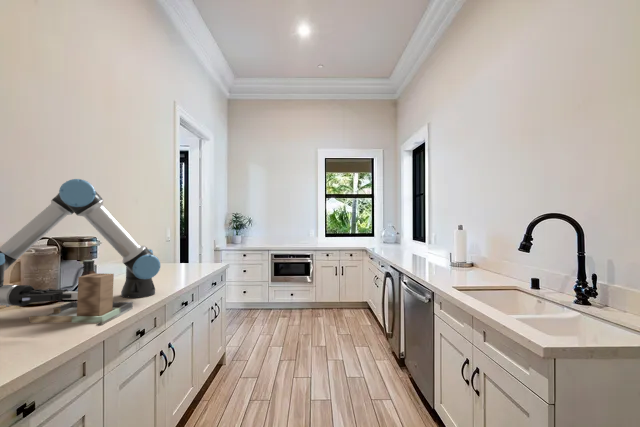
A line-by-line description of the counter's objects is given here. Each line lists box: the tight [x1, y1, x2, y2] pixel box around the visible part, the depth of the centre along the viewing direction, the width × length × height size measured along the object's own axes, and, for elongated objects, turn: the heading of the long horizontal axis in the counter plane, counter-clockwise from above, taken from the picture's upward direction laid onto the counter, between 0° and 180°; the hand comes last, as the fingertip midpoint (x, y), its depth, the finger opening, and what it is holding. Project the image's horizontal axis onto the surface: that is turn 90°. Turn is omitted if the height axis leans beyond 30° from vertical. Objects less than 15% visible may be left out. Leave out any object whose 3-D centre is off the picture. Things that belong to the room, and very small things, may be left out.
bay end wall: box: [102, 309, 119, 321], centre depth 120 cm, size 1×10×3 cm, turn 3°
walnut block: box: [76, 272, 115, 316], centre depth 120 cm, size 8×8×16 cm
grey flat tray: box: [29, 301, 133, 326], centre depth 124 cm, size 25×21×3 cm
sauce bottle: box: [80, 259, 97, 277], centre depth 141 cm, size 7×6×20 cm
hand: (81, 295), depth 120 cm, fingers closed
